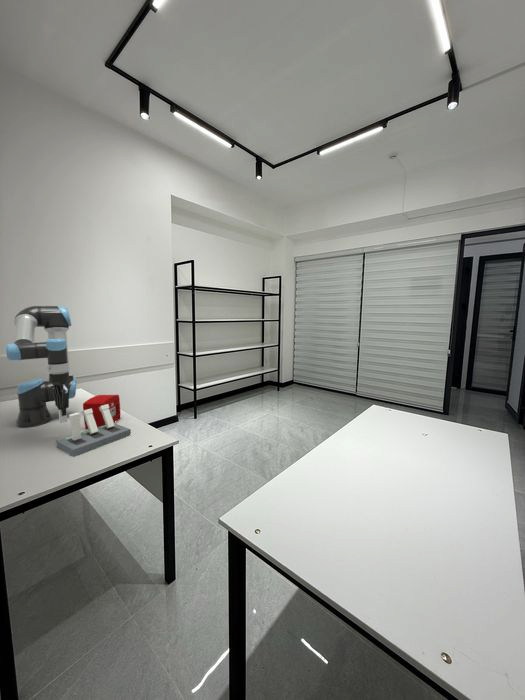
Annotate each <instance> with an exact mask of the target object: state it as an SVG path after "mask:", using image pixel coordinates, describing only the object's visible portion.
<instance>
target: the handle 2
mask: <svg viewBox="0 0 525 700" xmlns="http://www.w3.org/2000/svg"><path fill="white" fill-rule="evenodd" d="M99 409H100V411H101V412H102V415H103V418H104V421H105V424H106V426H107V429H108V428H111V427H114V426H115V425H114V423H115V422H113V419H112V416H111V414H110V411H109V405H108V404H106V405H102V406H100V407H99Z"/></svg>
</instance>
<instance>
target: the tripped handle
mask: <svg viewBox="0 0 525 700" xmlns="http://www.w3.org/2000/svg"><path fill="white" fill-rule="evenodd" d="M68 418H69V419H68V420H69V421H70V431H71V436H72V440H77V439H80V438H81V433H82V430H81V429H82V428H81V420H80V419H81V413H80V412H74V413H71V414H68Z"/></svg>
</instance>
